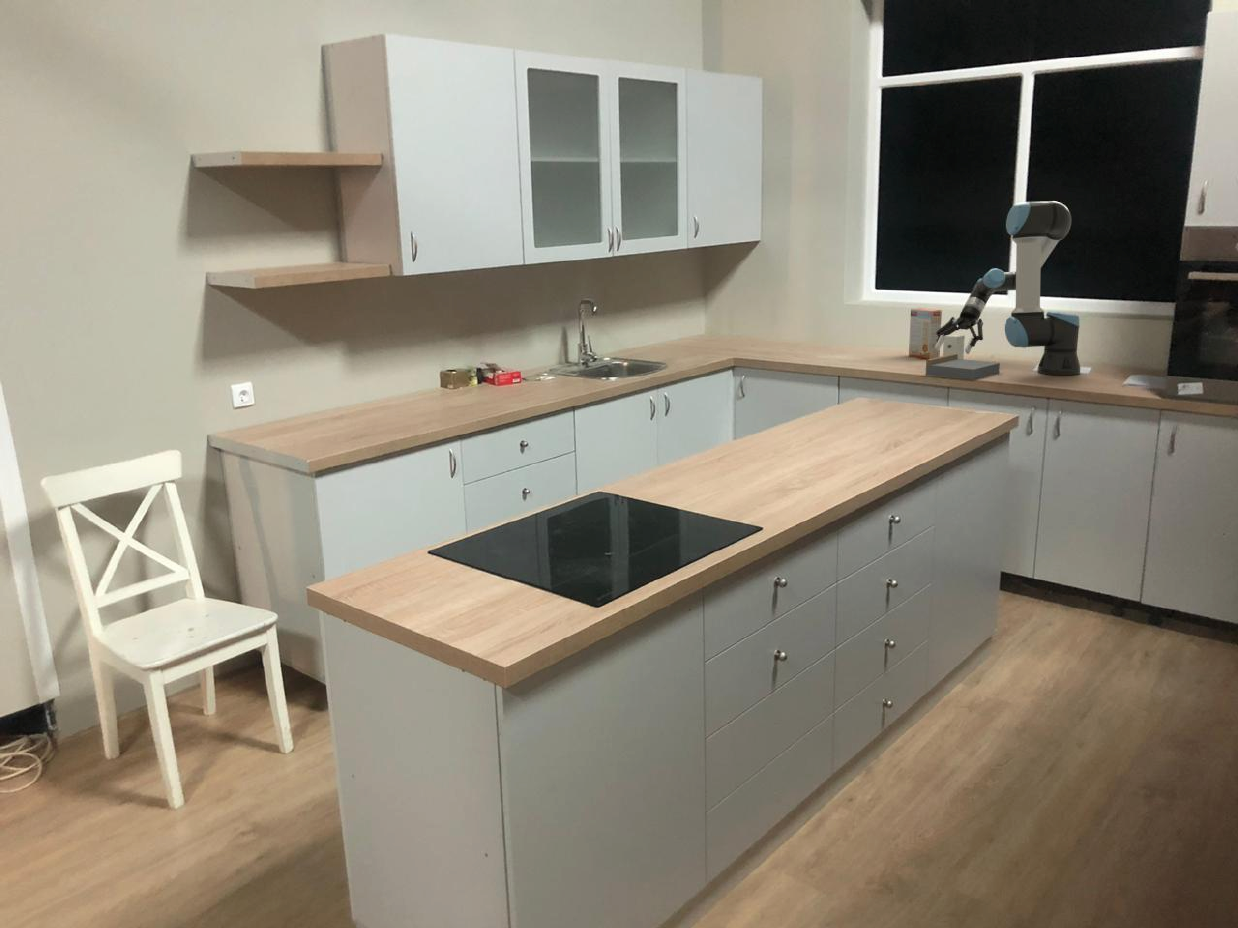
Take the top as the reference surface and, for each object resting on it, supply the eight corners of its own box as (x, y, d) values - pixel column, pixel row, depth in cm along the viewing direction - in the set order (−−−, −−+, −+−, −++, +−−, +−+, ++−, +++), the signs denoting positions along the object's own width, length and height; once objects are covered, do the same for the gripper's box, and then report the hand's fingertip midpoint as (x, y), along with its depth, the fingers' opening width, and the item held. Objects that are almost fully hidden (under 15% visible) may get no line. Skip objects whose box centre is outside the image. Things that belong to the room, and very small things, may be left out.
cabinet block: (963, 364, 407) (964, 335, 404) (954, 366, 402) (955, 337, 399) (950, 363, 411) (951, 334, 408) (941, 365, 407) (942, 336, 404)
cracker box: (940, 358, 423) (942, 310, 418) (929, 359, 421) (931, 310, 416) (919, 354, 436) (921, 307, 431) (908, 355, 434) (910, 308, 429)
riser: (999, 373, 383) (1000, 357, 382) (973, 380, 370) (974, 364, 369) (952, 368, 398) (953, 353, 396) (925, 374, 385) (926, 359, 383)
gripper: (1003, 318, 404) (982, 358, 398) (948, 314, 422) (927, 353, 417) (997, 306, 399) (976, 347, 394) (942, 303, 418) (921, 342, 412)
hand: (951, 350), depth 405 cm, fingers open, 13 cm apart
